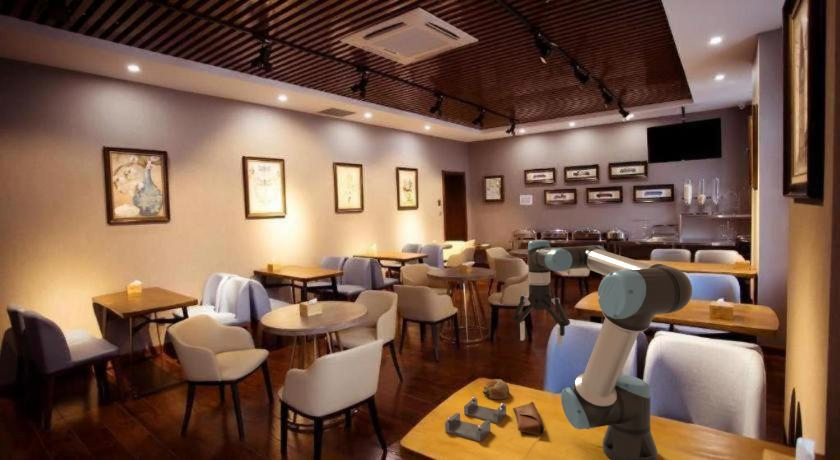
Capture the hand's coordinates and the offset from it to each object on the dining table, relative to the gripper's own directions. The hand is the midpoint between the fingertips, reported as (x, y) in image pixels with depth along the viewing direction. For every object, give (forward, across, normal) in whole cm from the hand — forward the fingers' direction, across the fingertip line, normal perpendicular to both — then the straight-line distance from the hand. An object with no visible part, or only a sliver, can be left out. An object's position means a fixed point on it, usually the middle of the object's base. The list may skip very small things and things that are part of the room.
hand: (540, 342), depth 158 cm
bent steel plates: (+27, +18, +17) cm, 36 cm away
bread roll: (+28, +22, -6) cm, 36 cm away
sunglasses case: (+27, +4, +9) cm, 29 cm away
